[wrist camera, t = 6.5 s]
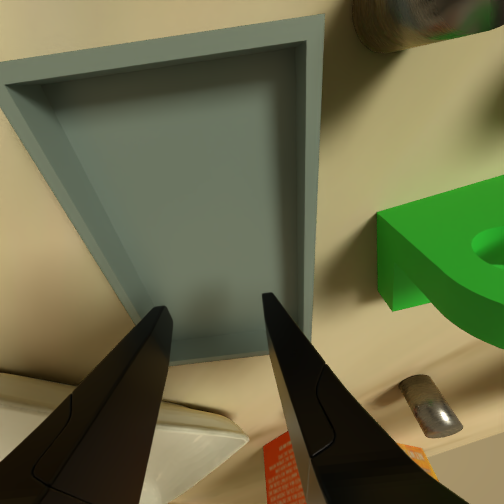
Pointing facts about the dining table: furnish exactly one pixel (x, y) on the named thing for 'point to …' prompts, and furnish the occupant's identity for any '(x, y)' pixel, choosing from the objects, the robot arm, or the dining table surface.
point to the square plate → (163, 446)
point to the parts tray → (187, 171)
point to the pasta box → (287, 476)
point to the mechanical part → (448, 257)
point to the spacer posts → (404, 37)
